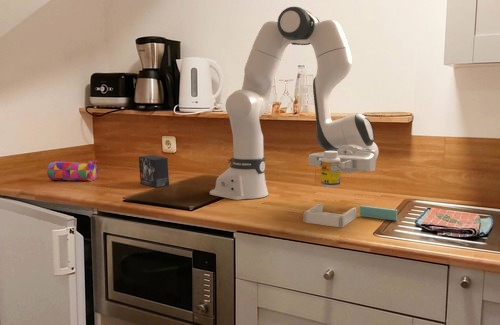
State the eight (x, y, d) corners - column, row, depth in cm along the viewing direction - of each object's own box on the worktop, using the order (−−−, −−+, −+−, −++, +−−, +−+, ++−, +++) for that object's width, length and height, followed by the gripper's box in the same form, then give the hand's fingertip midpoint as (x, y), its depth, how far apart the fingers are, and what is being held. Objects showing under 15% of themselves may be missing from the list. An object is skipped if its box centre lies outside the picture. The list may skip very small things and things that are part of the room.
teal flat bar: (359, 215, 141) (359, 206, 141) (360, 215, 142) (360, 205, 141) (396, 220, 135) (396, 210, 135) (397, 219, 136) (397, 209, 136)
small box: (139, 183, 198) (137, 156, 196) (153, 181, 202) (152, 154, 200) (155, 188, 188) (153, 159, 186) (169, 185, 192) (168, 157, 191)
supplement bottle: (318, 184, 139) (318, 150, 137) (335, 183, 140) (336, 149, 138) (325, 188, 133) (325, 153, 132) (343, 186, 134) (343, 152, 133)
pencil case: (101, 178, 212) (100, 159, 211) (93, 182, 203) (91, 162, 202) (56, 178, 214) (54, 159, 213) (45, 182, 205) (44, 162, 204)
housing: (303, 222, 136) (303, 212, 136) (319, 212, 146) (319, 203, 146) (342, 227, 130) (342, 217, 130) (356, 217, 140) (356, 207, 140)
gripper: (320, 146, 151) (298, 151, 141) (380, 150, 139) (362, 156, 128) (320, 165, 152) (298, 172, 142) (380, 171, 140) (361, 178, 129)
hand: (329, 164), depth 135 cm, fingers closed on supplement bottle, 6 cm apart
